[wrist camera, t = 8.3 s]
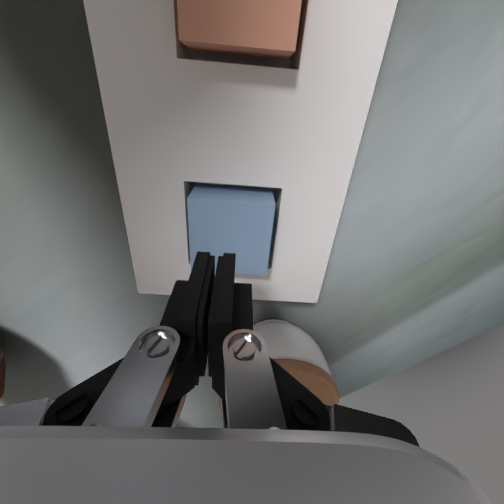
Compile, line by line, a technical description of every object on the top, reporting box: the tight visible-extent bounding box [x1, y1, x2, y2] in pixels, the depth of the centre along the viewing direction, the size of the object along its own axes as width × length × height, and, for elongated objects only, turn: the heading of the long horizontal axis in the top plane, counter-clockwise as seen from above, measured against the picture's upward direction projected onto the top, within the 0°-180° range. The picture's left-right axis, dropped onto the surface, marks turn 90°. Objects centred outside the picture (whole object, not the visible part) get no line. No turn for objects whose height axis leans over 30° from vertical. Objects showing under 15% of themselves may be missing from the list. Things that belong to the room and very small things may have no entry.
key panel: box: [83, 0, 398, 303], centre depth 17 cm, size 24×14×5 cm, turn 176°
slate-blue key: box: [187, 183, 276, 276], centre depth 17 cm, size 5×5×3 cm
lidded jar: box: [220, 319, 339, 411], centre depth 26 cm, size 11×11×9 cm
